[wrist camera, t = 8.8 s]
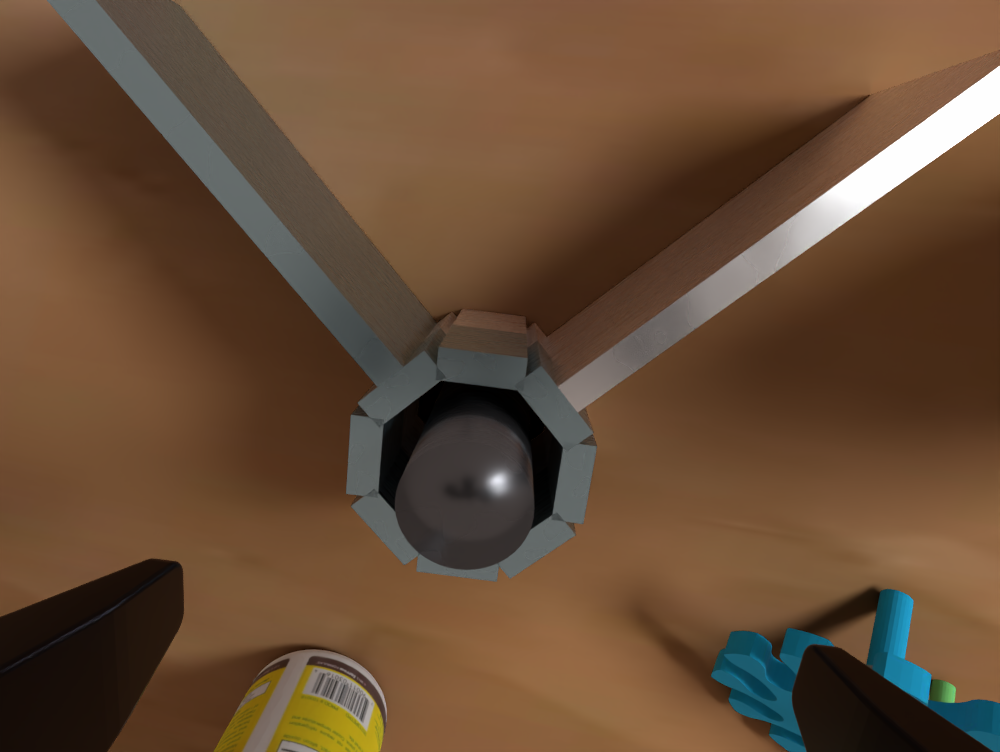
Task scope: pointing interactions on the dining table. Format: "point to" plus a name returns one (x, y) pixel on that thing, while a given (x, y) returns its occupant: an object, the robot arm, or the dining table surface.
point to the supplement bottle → (309, 707)
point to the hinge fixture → (494, 336)
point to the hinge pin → (469, 478)
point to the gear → (770, 682)
